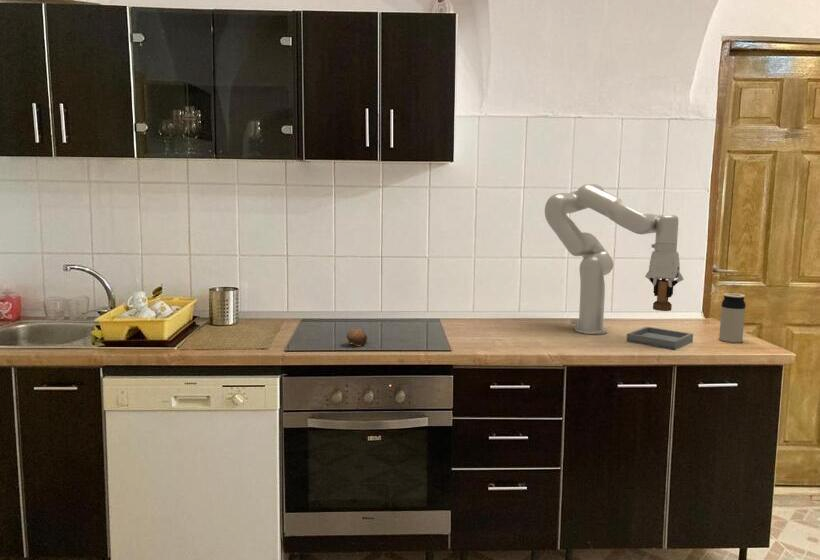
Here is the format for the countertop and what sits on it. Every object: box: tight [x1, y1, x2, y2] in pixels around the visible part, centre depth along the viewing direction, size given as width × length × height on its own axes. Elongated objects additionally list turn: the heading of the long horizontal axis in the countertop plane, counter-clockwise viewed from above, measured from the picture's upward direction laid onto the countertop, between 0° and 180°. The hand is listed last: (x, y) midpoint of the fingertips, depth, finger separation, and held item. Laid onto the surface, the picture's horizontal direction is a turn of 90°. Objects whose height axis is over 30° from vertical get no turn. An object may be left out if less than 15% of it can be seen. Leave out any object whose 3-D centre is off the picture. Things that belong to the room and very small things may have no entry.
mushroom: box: [346, 328, 368, 347], centre depth 225 cm, size 8×8×6 cm
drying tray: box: [626, 326, 694, 351], centre depth 233 cm, size 18×18×3 cm
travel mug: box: [718, 292, 747, 344], centre depth 234 cm, size 8×8×18 cm
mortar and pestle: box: [652, 278, 673, 312], centre depth 230 cm, size 7×6×18 cm
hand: (662, 295), depth 231 cm, fingers closed on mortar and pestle, 4 cm apart
